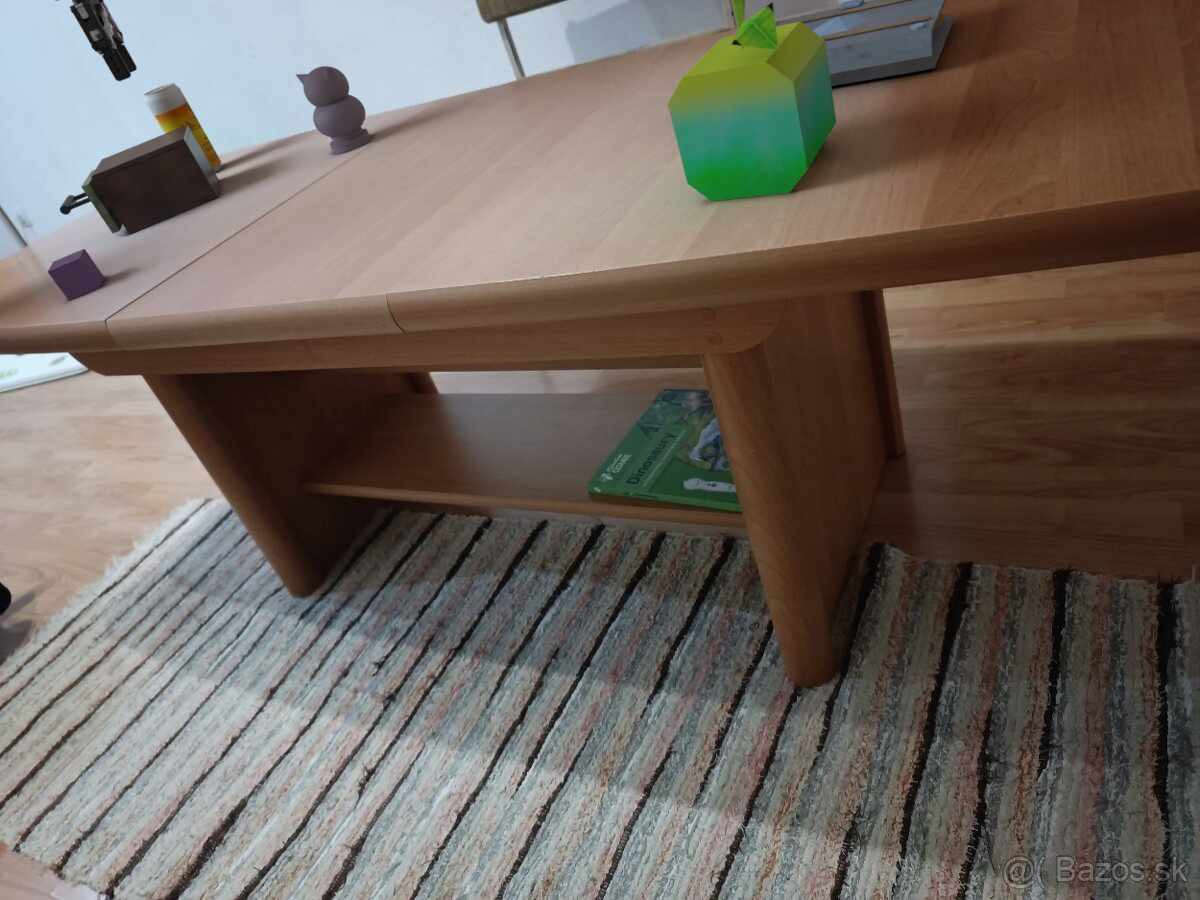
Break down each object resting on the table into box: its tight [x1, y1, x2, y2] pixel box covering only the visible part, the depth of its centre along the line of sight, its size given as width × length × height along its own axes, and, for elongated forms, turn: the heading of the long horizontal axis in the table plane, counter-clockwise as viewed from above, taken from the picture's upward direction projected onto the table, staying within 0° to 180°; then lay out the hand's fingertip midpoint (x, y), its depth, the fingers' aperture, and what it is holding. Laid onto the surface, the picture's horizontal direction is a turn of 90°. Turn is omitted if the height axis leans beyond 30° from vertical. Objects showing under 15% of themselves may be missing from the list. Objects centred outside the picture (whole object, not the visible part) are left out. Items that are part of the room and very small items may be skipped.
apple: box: [667, 0, 837, 202], centre depth 74 cm, size 11×10×15 cm
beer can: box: [143, 82, 222, 173], centre depth 151 cm, size 6×6×15 cm
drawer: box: [59, 169, 124, 235], centre depth 138 cm, size 19×11×8 cm, turn 111°
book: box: [775, 0, 955, 87], centre depth 94 cm, size 21×16×5 cm
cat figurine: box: [295, 65, 372, 155], centre depth 134 cm, size 8×8×12 cm
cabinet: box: [91, 125, 220, 235], centre depth 139 cm, size 15×13×10 cm
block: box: [47, 248, 105, 302], centre depth 116 cm, size 4×4×4 cm
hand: (127, 75), depth 129 cm, fingers open, 8 cm apart
